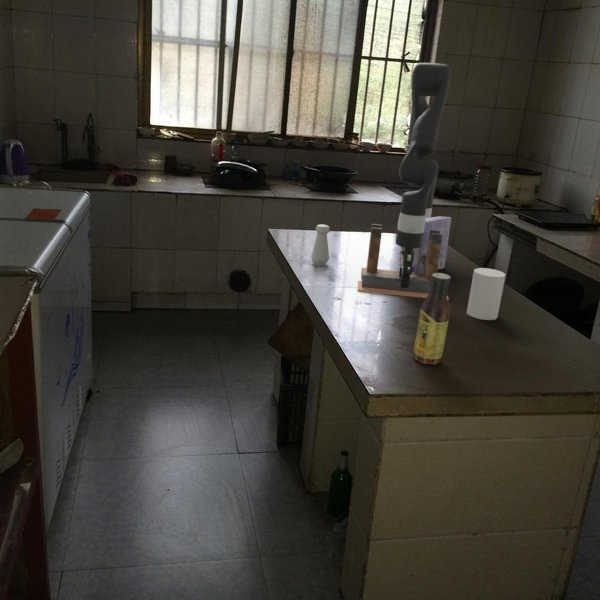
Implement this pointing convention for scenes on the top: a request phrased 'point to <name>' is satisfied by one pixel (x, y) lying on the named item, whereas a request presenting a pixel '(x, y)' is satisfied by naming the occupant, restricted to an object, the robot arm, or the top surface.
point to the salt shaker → (321, 246)
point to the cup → (485, 293)
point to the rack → (372, 265)
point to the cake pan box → (421, 252)
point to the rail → (395, 283)
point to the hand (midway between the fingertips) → (403, 283)
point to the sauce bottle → (433, 321)
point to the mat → (391, 291)
